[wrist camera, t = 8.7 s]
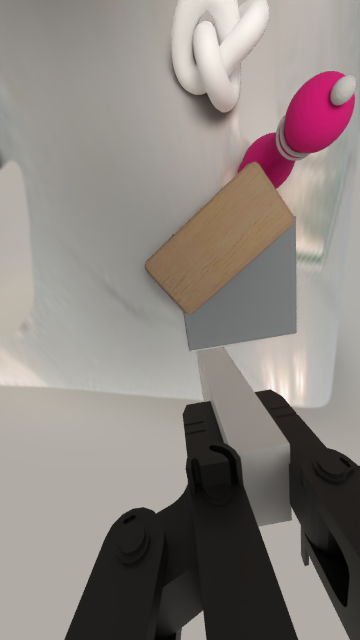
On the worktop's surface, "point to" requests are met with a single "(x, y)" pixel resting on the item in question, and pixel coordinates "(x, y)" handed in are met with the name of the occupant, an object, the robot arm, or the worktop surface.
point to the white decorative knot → (215, 46)
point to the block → (221, 239)
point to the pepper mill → (305, 125)
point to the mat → (251, 300)
